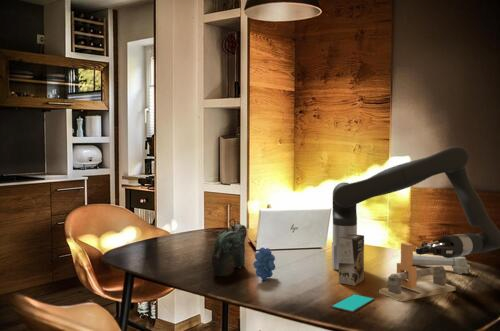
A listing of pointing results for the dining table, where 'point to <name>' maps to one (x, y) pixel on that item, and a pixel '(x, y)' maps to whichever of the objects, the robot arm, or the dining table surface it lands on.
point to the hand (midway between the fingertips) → (417, 251)
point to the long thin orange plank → (407, 266)
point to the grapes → (264, 263)
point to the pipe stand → (418, 285)
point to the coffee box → (351, 259)
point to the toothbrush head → (444, 262)
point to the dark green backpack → (229, 248)
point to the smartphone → (352, 303)
